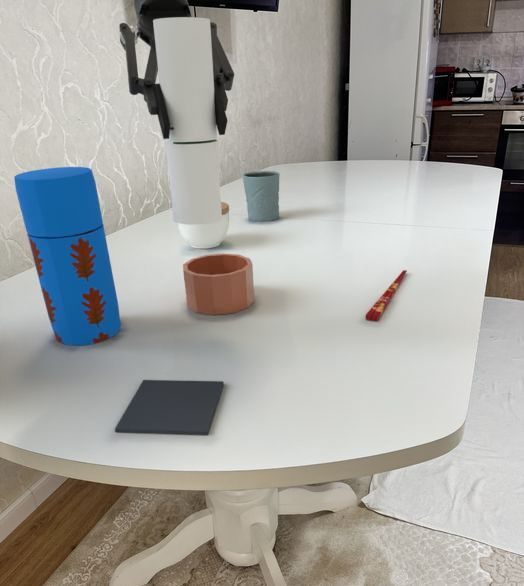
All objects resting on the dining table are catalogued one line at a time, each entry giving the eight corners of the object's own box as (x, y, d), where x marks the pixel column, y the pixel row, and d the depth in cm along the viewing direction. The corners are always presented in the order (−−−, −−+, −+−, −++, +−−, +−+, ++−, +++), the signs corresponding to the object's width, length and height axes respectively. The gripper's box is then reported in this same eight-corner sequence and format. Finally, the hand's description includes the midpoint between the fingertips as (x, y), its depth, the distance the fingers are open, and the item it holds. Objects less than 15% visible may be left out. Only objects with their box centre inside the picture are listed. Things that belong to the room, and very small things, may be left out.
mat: (115, 432, 61) (114, 428, 61) (143, 382, 71) (143, 379, 71) (207, 435, 60) (207, 431, 60) (224, 384, 70) (223, 381, 69)
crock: (174, 301, 96) (170, 264, 93) (228, 284, 103) (225, 249, 99) (211, 320, 88) (207, 281, 84) (267, 301, 94) (265, 263, 91)
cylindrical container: (201, 210, 82) (186, 23, 71) (231, 217, 78) (221, 18, 66) (163, 219, 78) (141, 21, 66) (193, 227, 73) (175, 16, 62)
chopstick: (408, 273, 104) (408, 268, 103) (377, 321, 85) (377, 315, 84) (398, 272, 104) (398, 267, 104) (365, 319, 86) (365, 314, 85)
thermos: (70, 353, 79) (28, 183, 68) (43, 331, 87) (1, 174, 75) (134, 330, 86) (106, 171, 74) (104, 312, 93) (74, 164, 81)
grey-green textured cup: (274, 223, 142) (272, 177, 137) (239, 221, 146) (236, 176, 140) (285, 214, 151) (284, 170, 145) (252, 212, 154) (249, 170, 148)
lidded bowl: (203, 234, 135) (199, 191, 130) (242, 241, 128) (239, 195, 123) (168, 247, 126) (162, 201, 121) (208, 255, 119) (204, 206, 114)
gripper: (222, 21, 81) (260, 143, 75) (90, 22, 76) (119, 154, 70) (229, -27, 74) (272, 104, 68) (84, -29, 69) (117, 113, 63)
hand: (195, 129), depth 69 cm, fingers closed on cylindrical container, 7 cm apart
